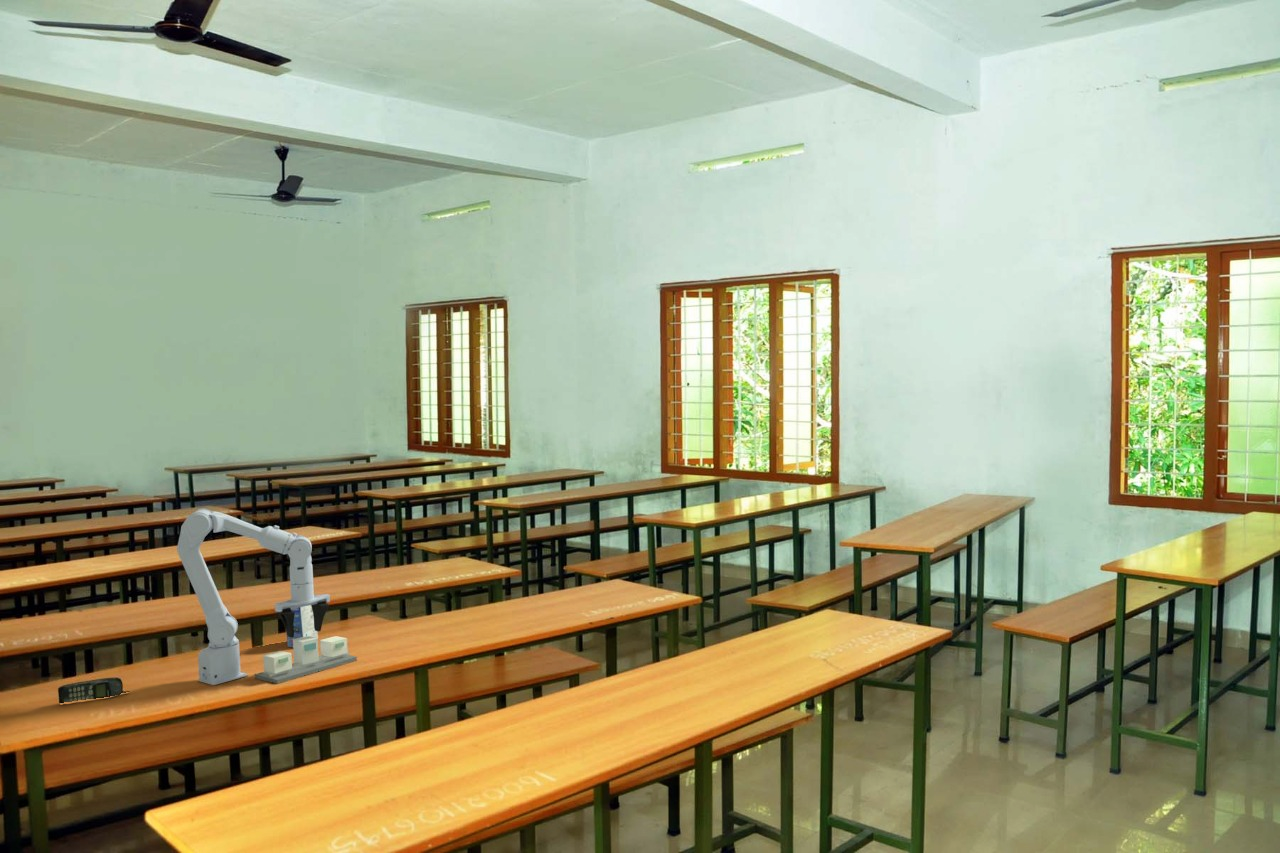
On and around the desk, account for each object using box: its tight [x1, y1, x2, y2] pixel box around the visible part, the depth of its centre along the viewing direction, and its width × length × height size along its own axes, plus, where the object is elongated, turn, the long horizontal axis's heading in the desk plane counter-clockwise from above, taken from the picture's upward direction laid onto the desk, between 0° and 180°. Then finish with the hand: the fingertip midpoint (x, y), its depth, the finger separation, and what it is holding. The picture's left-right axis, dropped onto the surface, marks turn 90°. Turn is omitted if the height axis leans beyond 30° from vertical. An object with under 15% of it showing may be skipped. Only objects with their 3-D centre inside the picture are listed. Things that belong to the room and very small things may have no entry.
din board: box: [254, 654, 358, 684], centre depth 257 cm, size 24×10×1 cm, turn 143°
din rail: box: [262, 650, 350, 678], centre depth 257 cm, size 24×4×1 cm, turn 143°
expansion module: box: [292, 636, 320, 665], centre depth 257 cm, size 4×5×6 cm
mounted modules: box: [262, 635, 349, 673], centre depth 257 cm, size 22×5×4 cm, turn 143°
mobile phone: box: [57, 677, 130, 704], centre depth 238 cm, size 5×3×15 cm
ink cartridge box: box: [285, 605, 319, 648], centre depth 286 cm, size 10×6×14 cm, turn 174°
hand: (304, 633), depth 257 cm, fingers open, 7 cm apart
